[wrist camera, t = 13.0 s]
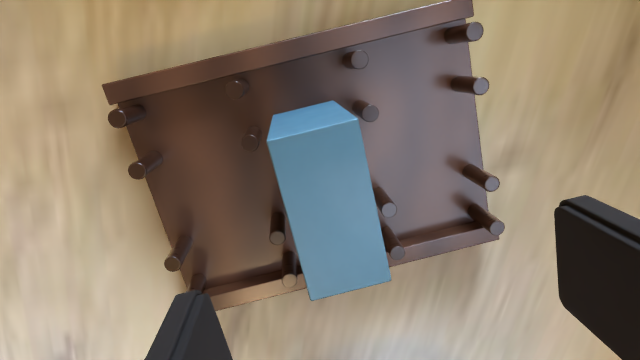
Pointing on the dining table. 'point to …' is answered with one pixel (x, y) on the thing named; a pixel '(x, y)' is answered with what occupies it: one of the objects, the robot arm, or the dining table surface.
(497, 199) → the dining table surface
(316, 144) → the carton
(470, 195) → the rack
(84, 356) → the dining table surface
